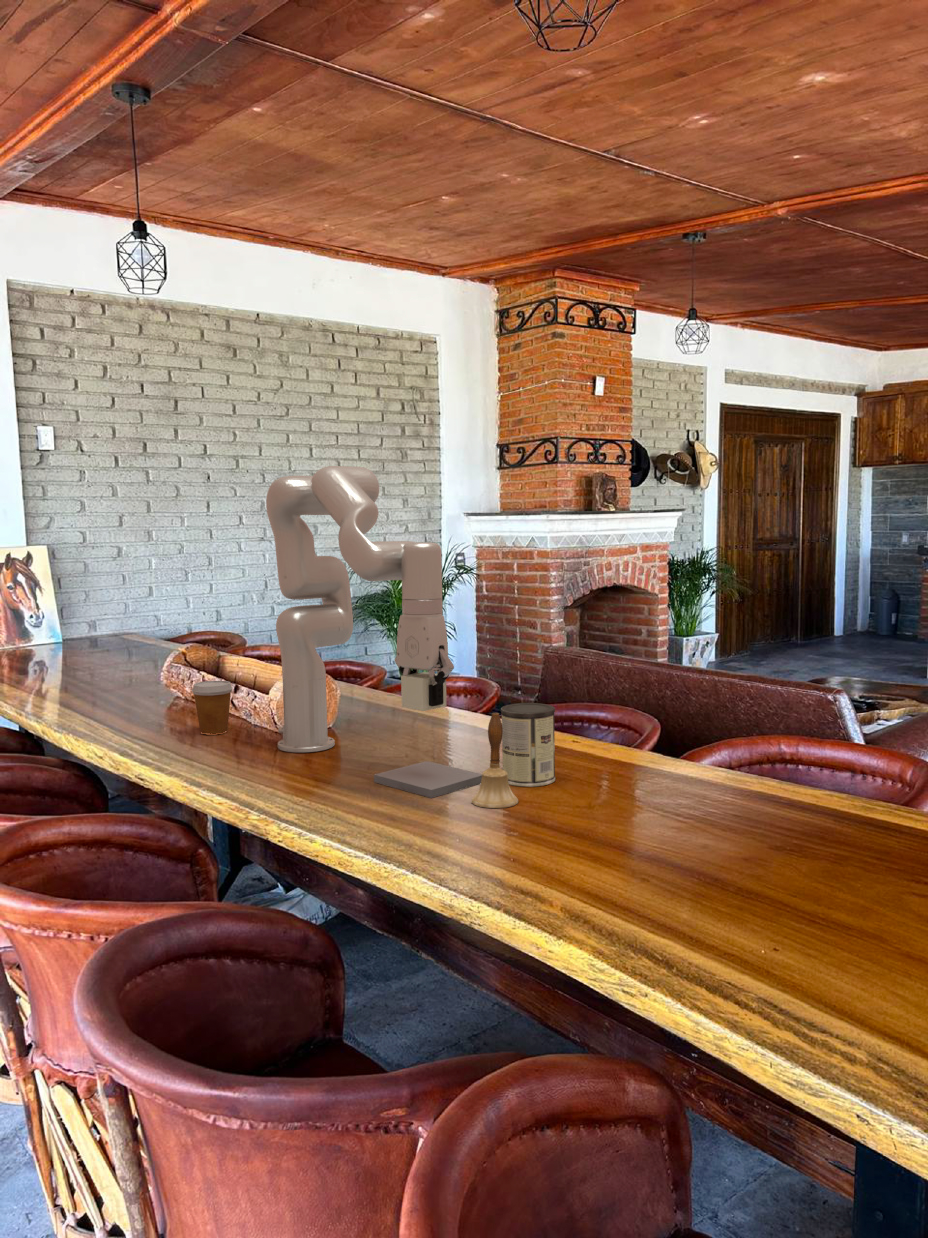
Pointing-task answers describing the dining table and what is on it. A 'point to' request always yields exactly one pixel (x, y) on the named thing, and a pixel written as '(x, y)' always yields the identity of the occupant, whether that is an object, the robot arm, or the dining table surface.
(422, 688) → the cube
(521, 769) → the coffee can
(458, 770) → the slate board
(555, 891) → the dining table surface
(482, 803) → the hand bell
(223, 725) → the disposable coffee cup
